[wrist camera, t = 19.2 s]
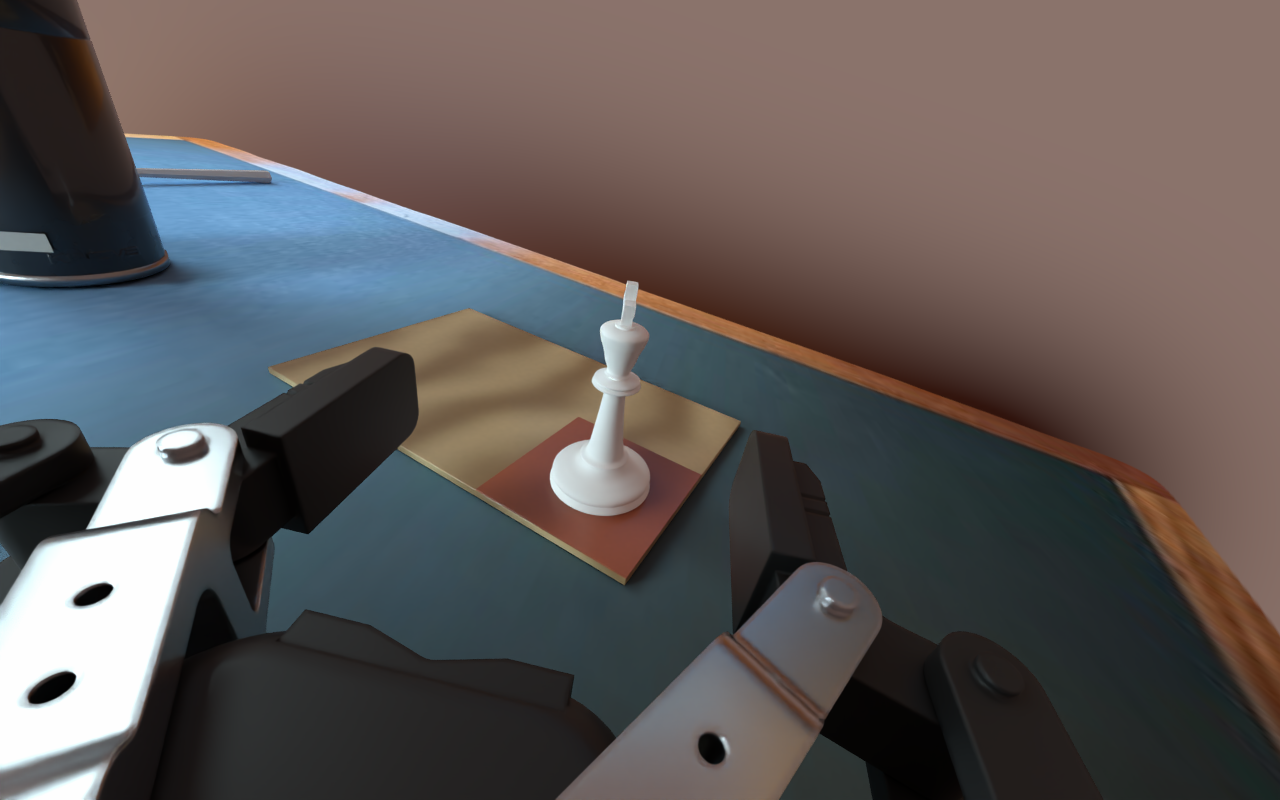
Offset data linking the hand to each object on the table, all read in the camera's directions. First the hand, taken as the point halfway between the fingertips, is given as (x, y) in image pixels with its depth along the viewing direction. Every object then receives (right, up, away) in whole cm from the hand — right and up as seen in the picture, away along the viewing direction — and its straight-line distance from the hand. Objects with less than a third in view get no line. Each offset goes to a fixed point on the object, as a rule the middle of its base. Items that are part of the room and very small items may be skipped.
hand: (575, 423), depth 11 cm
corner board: (-6, 0, +18) cm, 19 cm away
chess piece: (0, -4, +12) cm, 13 cm away
